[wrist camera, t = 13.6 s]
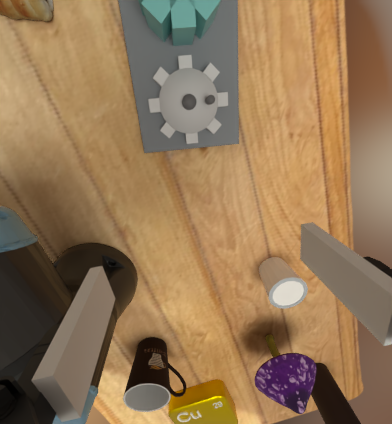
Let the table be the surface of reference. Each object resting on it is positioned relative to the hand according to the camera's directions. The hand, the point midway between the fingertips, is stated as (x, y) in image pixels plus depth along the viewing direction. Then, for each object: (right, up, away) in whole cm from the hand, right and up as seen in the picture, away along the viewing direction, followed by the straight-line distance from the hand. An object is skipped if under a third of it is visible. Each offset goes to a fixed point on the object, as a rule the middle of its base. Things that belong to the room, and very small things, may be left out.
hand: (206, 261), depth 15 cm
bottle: (+30, -39, +45) cm, 66 cm away
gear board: (-3, +29, +13) cm, 32 cm away
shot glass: (+15, -8, +30) cm, 35 cm away
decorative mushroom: (+16, -25, +38) cm, 48 cm away
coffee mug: (-10, -28, +37) cm, 47 cm away
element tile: (+1, -48, +46) cm, 66 cm away
